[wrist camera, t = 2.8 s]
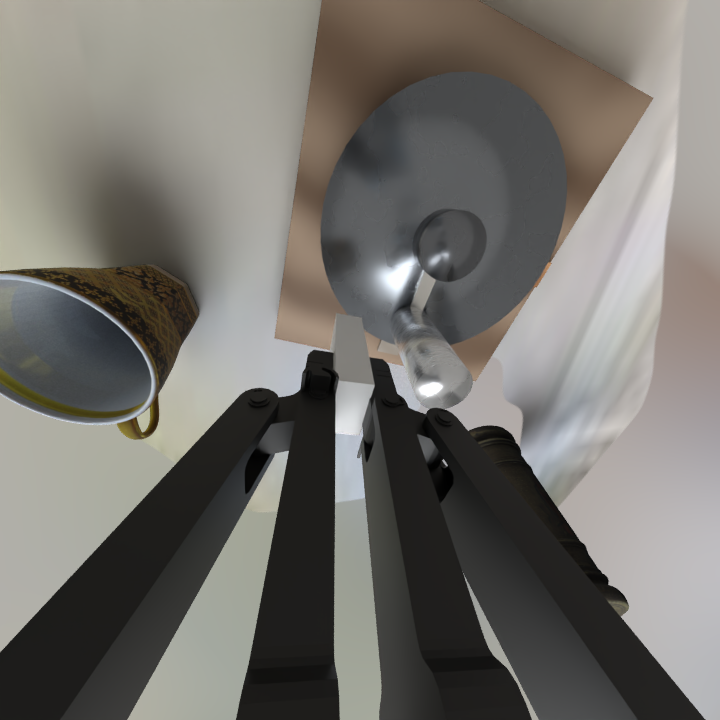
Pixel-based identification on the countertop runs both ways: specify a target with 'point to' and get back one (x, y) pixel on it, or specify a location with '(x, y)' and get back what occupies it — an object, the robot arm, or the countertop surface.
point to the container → (543, 505)
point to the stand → (410, 65)
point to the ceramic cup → (92, 341)
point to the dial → (443, 219)
